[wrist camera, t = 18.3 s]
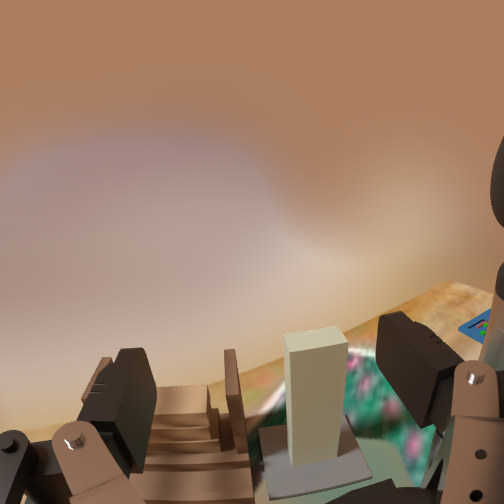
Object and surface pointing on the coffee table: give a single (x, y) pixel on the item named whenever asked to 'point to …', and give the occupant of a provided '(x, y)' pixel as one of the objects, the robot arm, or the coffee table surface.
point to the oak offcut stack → (184, 422)
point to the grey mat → (310, 465)
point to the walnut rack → (201, 458)
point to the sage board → (314, 392)
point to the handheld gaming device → (476, 326)
